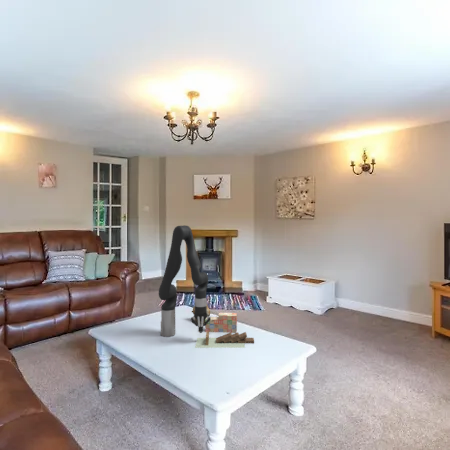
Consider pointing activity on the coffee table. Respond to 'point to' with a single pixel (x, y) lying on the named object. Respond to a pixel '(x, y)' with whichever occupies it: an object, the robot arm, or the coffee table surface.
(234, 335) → the domino
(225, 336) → the domino
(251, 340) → the domino
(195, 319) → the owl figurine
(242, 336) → the domino
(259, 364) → the coffee table surface
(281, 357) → the coffee table surface
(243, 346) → the mat
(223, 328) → the stack of blocks
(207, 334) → the domino
